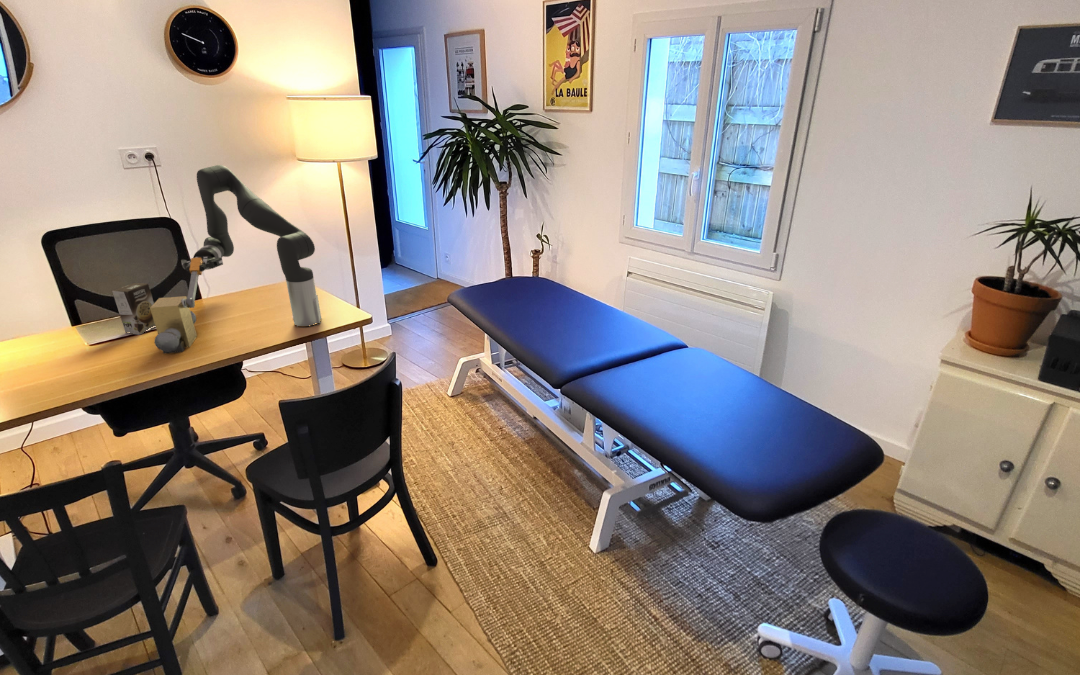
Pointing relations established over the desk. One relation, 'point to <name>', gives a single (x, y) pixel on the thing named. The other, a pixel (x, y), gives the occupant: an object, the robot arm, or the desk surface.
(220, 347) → the desk surface
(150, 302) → the coffee box
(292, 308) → the robot arm
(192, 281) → the lever
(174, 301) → the block
